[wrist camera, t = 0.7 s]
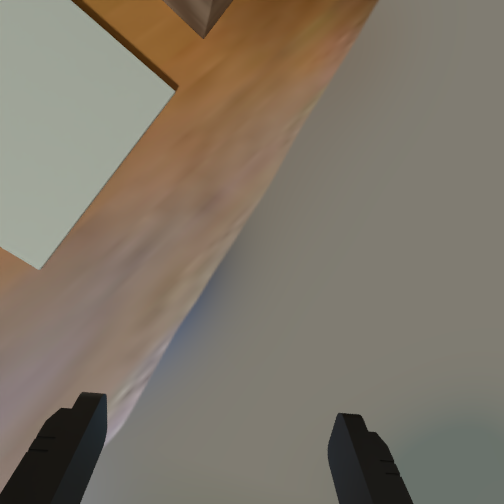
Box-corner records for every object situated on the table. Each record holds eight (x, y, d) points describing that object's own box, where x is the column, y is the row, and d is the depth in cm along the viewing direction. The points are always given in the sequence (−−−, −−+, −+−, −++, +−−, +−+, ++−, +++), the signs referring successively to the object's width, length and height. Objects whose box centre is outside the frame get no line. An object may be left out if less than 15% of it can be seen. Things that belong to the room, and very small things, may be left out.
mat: (-178, 135, 24) (-187, 134, 23) (-21, -77, 23) (-26, -84, 23) (42, 268, 29) (39, 270, 28) (175, 93, 28) (175, 91, 28)
